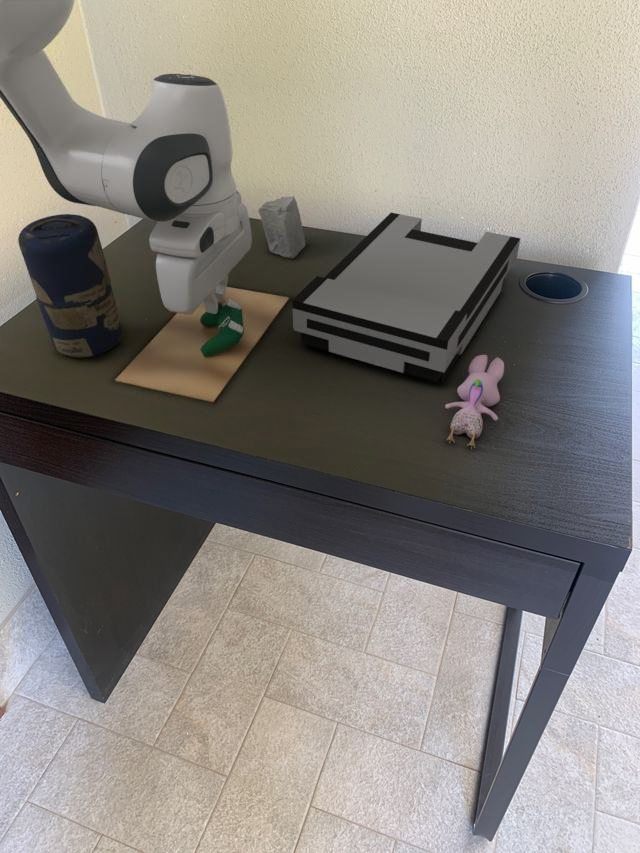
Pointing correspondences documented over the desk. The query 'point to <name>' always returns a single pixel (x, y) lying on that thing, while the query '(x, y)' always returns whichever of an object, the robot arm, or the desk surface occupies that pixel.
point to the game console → (405, 297)
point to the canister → (71, 284)
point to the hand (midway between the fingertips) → (216, 308)
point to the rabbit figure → (476, 397)
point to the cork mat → (182, 358)
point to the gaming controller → (223, 328)
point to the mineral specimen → (283, 226)
